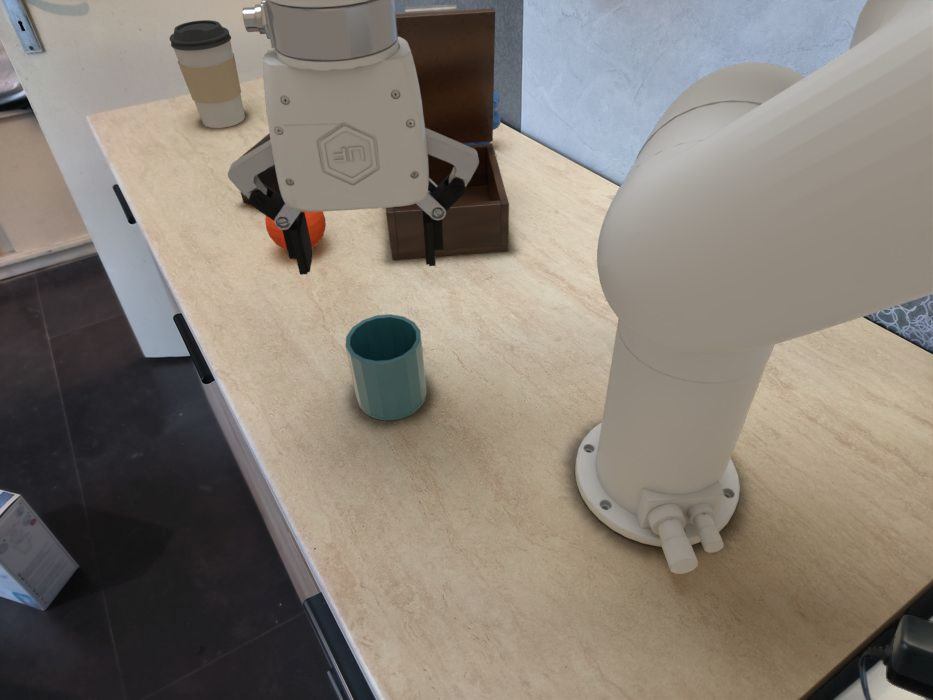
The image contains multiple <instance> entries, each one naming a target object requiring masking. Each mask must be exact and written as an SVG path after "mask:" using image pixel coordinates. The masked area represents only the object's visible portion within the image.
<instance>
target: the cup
mask: <svg viewBox="0 0 933 700" xmlns="http://www.w3.org/2000/svg"><path fill="white" fill-rule="evenodd" d="M345 350H346V355H347V359H348V364H349V369H350V374H351V379H352V384H353V388H354V393H355V398H356V401H357V404H358V407H359V408H360V409H361V411H362V412H363V413H364V414H365V415H367V416H369V417H371V418H372V419H376V420H379V421H387V422H388V421H389V422H390V421H398V420H403V419H405V418H407V417H409V416H411V415H413V414H416V412H417V411H419V410H420V408H421V407H422V406H423V405H424V403H425V401H426V398H427V395H428V394H427V393H428V392H427V391H428V390H427V380H426V372H425V370H426V369H425V361H424V352H423V342H422V333H421V329H420V328H419V326H418V325H417V324H416V323H415V322H414V321H413V320H412V319H410V318H408V317H406V316H402V315H397V314H392V313H391V314H378V315H374V316H370V317H368V318H365V319H364V318H363V319H362V320H360V322H358V323H356V325H353V326H352V327H351V329H350V330H349V331H348V333H347V334H346V337H345Z"/></svg>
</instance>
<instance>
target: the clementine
mask: <svg viewBox="0 0 933 700" xmlns="http://www.w3.org/2000/svg"><path fill="white" fill-rule="evenodd" d="M302 212H305V217H306V221H307V226H308V231H309V235H310V240H311V245H312V248H314V247H316V246H317V245H318V244H319V243H320V241H321V240H322V238H323V237H324V235H325V231H326V227H327V226H326V217H325V213H324V211H320V212H306V211H302ZM265 229H266V231H267V234H268V236H269V238H270V239H271V240H272V241H273V242H274V243H275V244H276V246H277V247H280V248H281V249H283V250H284V251H287V247H286V243H285V239H284V235H283V231H282V230H281V229H279V228H277V227H276V226H275V224H274V220H272V219H271V218H269V217H267V216H266V215H265Z"/></svg>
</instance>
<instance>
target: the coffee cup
mask: <svg viewBox="0 0 933 700" xmlns="http://www.w3.org/2000/svg"><path fill="white" fill-rule="evenodd" d="M231 39H232V35H231V34H230V31H229V29H228V28H227V27H224V26H222V24H221V23H220V22H219V21H217V20H211V19H210V20H209V19H207V20H206V19H203V20H193V21H188V22H184V23H181V24H178V25H177V26H175V27H174V29H173V33H172V34H171V35H170V36H169V41H170V47H171V48H173V51H174V53H175V56H176V58H177V64H178V66H179V67H178V68H179V69H180V72H181V75H182V76H183V77H182V78H183V79H184V82H185V84H186V86H187V89H188V92H189V94H190V97H191V99H192V101H193V102H194V104H195V106H196V109H197V112H198V114H199V117H200V119H201V122H202V125H203V126H204V127H207V128H211V129H222V128H223V129H224V128H229V127H234V126H236V125H239V124H240V123H242V122H243V121H244V120H245V119H246V115H245V110H244V109H245V108H244V105H243V100H242V89H241V83H240V78H239V74H238V69H237V62H236V58H235V57H236V56H235V53H234V52H233V48H232V42H231Z"/></svg>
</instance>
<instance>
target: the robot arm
mask: <svg viewBox="0 0 933 700" xmlns="http://www.w3.org/2000/svg"><path fill="white" fill-rule="evenodd" d="M861 9H862V10H861V11H860V13H859V15H858V18H857V21H856V24H855V27H854V30H853V32H852V33H853V34H852V36H851V39H850V43H849V47H848V50H846V51H844V52H843V53H842V54H840V55H839V56H837V57H835V58H834V59H832V60H831V61H828V62H827V63H826V64H824V65H822V66H821V67H819V68H817V69H816V70H814V71H813V72H811V73H810V74H808V75H807V76H804V75H802V74H801V73H800V72H798V71H795V70H793V69H791V68H789V67H786V66H783V65H780V64H775V63H771V62H770V63H769V62H759V61H758V62H757V61H754V62H753V61H750V62H742V63H736V64H732V65H728V66H725V67H722V68H719V69H717V70H715V71H713V72H710V73H708V74H706V75H704V76H703V77H701V78H699V79H697V80H696V81H695V82H694V83H692V84H691V85H689V86H688V87H687V88H686V89H685V90H683V92H682V93H680V94H679V95H678V96H677V97H676V98H675V99H674V100H673V101H672V103H670V105H669V106H668V107H667V109H666V110H665V111H664V112H663V113H662V115H661V117H660V118H659V120H657V122H656V124H655V125H654V127H653V128H652V130H651V132H650V134H649V135H648V137H647V139H646V140H645V142H644V144H643V145H642V147H641V148H640V150H639V151H638V153H637V156H636V159H635V160H634V163H633V165H632V166H631V168H630V170H629V171H628V173H627V174H626V176H625V178H624V180H622V183H621V184H620V186H619V188H618V189H617V191H616V193H615V195H614V196H613V198H612V200H611V202H610V204H609V206H608V208H607V211H606V213H605V216H604V218H603V221H602V224H601V227H600V231H599V236H598V241H597V249H596V266H597V267H596V268H597V273H598V279H599V283H600V286H601V287H600V288H601V290H602V293H603V295H604V298H605V300H606V302H607V304H608V306H609V307H610V309H611V310H612V312H613V313H614V314H615V316H616V317H617V318H618V320H617V326H616V331H615V338H614V344H613V345H614V346H613V349H612V356H611V363H610V369H609V375H608V382H607V387H606V393H605V401H604V407H603V414H602V420H601V422H599V423H598V424H597V425H595V426H594V427H593V428H592V429H590V431H589V432H588V433H587V434H586V435H585V436H584V438H583V439H582V440H581V443H580V445H579V446H578V449H577V453H576V459H575V469H574V474H575V481H576V487H577V489H578V492H579V494H580V496H581V498H582V500H583V501H584V503H585V504H586V505H587V508H588V509H589V510H590V511H591V513H593V514H594V516H595V517H596V518H597V519H598V520H599V521H600V522H601V523H603V524H604V525H605V526H607V527H608V528H609V529H611V530H612V531H613V532H616V533H618V534H619V535H621V536H623V537H625V538H626V539H629V540H633V541H635V542H638V543H641V544H644V545H649V546H655V547H659V548H662V552H663V555H664V557H665V560H666V563H667V565H668V568H669V570H670V571H669V572H671V573H672V574H676V575H684V574H688V573H691V572H692V571H694V570H695V569H697V568H698V566H699V561H698V557H697V555H696V553H695V551H694V548H693V545H696V544H698V543H701V545H702V548H703V550H704V552H706V553H710V554H711V553H716V552H719V551H721V550H722V549H723V548H724V547H725V543H724V541H723V539H722V536H721V533H720V532H721V531H722V530H723V529H724V528H725V527H726V526H727V525H728V524H729V522H730V520H731V519H732V517H733V515H734V513H735V511H736V508H737V505H738V503H739V499H740V489H741V485H740V478H739V474H738V471H737V469H736V467H735V463H734V461H733V460H732V456H733V453H734V451H735V448H736V445H737V443H738V440H739V437H740V435H741V432H742V430H743V427H744V425H745V422H746V420H747V417H748V414H749V412H750V408H751V406H752V404H753V401H754V399H755V395H756V392H757V390H758V388H759V385H760V382H761V380H762V376H763V375H764V373H765V371H766V367H767V364H768V361H769V360H770V357H771V356H772V353H773V350H774V348H775V345H778V344H782V343H785V342H789V341H792V340H794V339H795V340H796V339H798V338H801V337H804V336H808V335H811V334H814V333H817V332H819V331H820V332H821V331H824V330H826V329H829V328H832V327H835V326H839V325H842V324H845V323H849V322H851V321H854V320H858V319H861V318H863V317H867V316H870V315H873V314H876V313H879V312H882V311H885V310H888V309H891V308H894V307H898V306H901V305H903V304H907V303H909V302H913V301H916V300H920V299H922V298H924V297H925V298H926V297H928V296H931V295H933V0H866V2H865V4H864V6H863V8H861ZM396 12H397V11H396V0H261V2H260V4H259V3H258V4H255V5H254V6H249V7H243V8H242V19H243V25H244V28H245V31H246V32H247V33H257V32H258V33H259V34H260V35H266V38H267V40H270V45H271V47H270V48H269V49H268V50H267V51H266V53H265V54H264V55H263V58H262V59H263V60H262V72H263V73H262V74H263V76H262V77H263V91H264V100H265V101H264V103H265V110H266V118H267V119H266V120H267V125H268V134H269V133H270V140H268V141H267V142H265V143H264V144H262V145H260V146H259V147H257V148H255V149H254V150H252V151H251V152H249V153H247V154H246V155H244V154H243V155H244V156H243V155H241V156H242V157H241V156H240V157H241V158H240V157H238V158H237V159H236V160H235V161H233V162H232V163H231V164H230V167H229V169H228V171H227V177H228V179H229V180H230V182H231V183H232V184H233V185H234V186H235V187H236V189H238V190H239V192H240V194H241V193H242V194H243V195H245V196H246V197H247V198H248V199H249V203H250V204H251V205H250V204H249V205H250V206H251V207H252V208H254V209H256V210H257V211H258V212H259V213H261V214H263V215H265V217H266V216H267V217H269V218H271V219H272V220H274V224H275V226H276V227H277V228H279V229H281V230H282V231H283V235H284V239H285V243H286V247H287V250H286V252H287V255H288V258H289V260H296V264H297V269H298V272H299V275H301V276H302V275H308V273H311V268H312V262H313V255H314V250H313V247H312V245H311V240H310V235H309V231H308V226H307V221H306V217H305V212H302V211H306V212H320V211H323V212H337V211H355V210H357V211H358V210H370V209H371V210H372V209H386V208H388V207H401V206H408V205H412V204H415V203H416V204H417V205H418V206H419V207H420V208H421V209H422V212H423V227H424V240H425V254H426V258H425V265H427V266H428V267H436V264H437V263H436V257H435V250H444V248H443V228H442V219H443V218H444V217H445V215H446V211H447V210H448V209H449V208H450V207H451V206H452V205H453V204H454V203H455V202H456V201H457V200H458V199H459V198H460V197H461V196H462V195H463V194H464V193H465V190H466V186H467V184H468V182H470V180H471V178H472V176H473V174H474V172H475V170H476V168H477V166H478V164H479V159H478V154H477V151H476V150H475V149H474V148H471V147H469V146H467V145H464V144H462V143H460V142H457V141H455V140H453V139H450V138H448V137H446V136H444V135H441V134H439V133H437V132H434V131H432V130H430V129H427V128H425V124H424V116H423V108H422V100H421V94H420V88H419V82H418V78H417V73H416V68H415V64H414V60H413V57H412V53H411V50H410V47H409V45H408V42H407V41H406V40H405V39H403V38H401V37H398V33H397V21H396V14H397V13H396ZM428 154H429V155H431V156H434V157H436V158H438V159H441V160H443V161H446V162H448V163H450V164H452V165H454V167H453V170H452V172H451V173H450V174H449V175H448V176H447V177H446V178H445V179H444V180H443V181H442V182H441V183H440V184H439V185H438V186H437V185H436V184H435V183H434V182H433V181H432V180H431V179H430V178H429V166H428ZM273 165H275V169H276V175H277V180H278V184H279V189H280V192H281V195H280V194H279V193H277V192H276V191H274V190H273V189H272V188H270V187H269V186H267V185H266V184H264V183H262V182H261V181H260V179H259V177H258V176H257V175H258V174H260V173H261V172H263V171H265V170H266V169H268V168H270V167H271V166H273Z"/></svg>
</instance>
